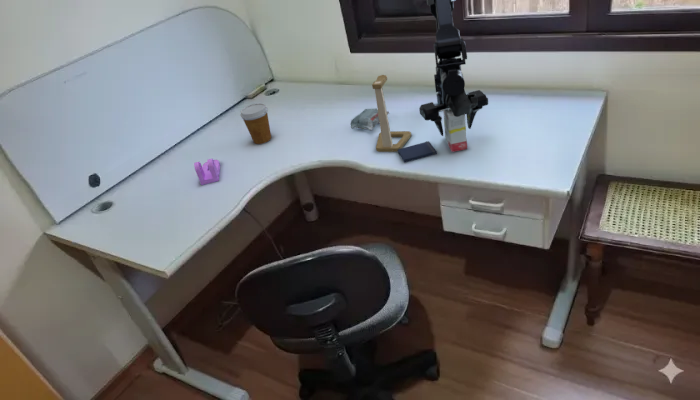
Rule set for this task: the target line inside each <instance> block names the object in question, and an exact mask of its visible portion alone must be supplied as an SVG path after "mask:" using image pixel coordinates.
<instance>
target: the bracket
mask: <svg viewBox="0 0 700 400" xmlns="http://www.w3.org/2000/svg"><path fill="white" fill-rule="evenodd" d="M193 168H194V171H195V173H196V176H197V177H198V180H199V183H200V185H201V186H203V185H208V184H212V183H215V182H220V172H221V163H220V161H219V160H218V159H214V158H207V160H206V162H204V163H203V164H202V163H201V162H200V161H195V162H194V163H193Z"/></svg>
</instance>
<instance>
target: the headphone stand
mask: <svg viewBox="0 0 700 400" xmlns="http://www.w3.org/2000/svg"><path fill="white" fill-rule="evenodd" d="M387 81H388V76H387V75H386V74H381V75H378V76H377V78H376V80H374V81H373V82H372V84H371V87H372V89H373V90H374V94H375V101H376V108H377V110H378V115H379V129H380V132H379V133H378V137H377V140H376V145H375V151H376V152H378V153H398V149H401V148H404V147H405V145H406V143H407V142H409V140H410V139H411V137H412V132H411V131H410V130H400V131H399V130H397V131H394V130H392V131H391V126H390V122H389V117H388V116H389V115H387V111H388V110H387V105H386V100H385V95H384V89H383V88H384V85H385V84H386V82H387ZM393 138H400V139H399V141H398V142H397V143H393Z"/></svg>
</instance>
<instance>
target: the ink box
mask: <svg viewBox="0 0 700 400" xmlns="http://www.w3.org/2000/svg"><path fill="white" fill-rule="evenodd" d="M442 112H443V113H442V114H443V126H444V139H445V142H446V144H447V146H448V148H449V149H450V151H451V153H454V152H455V153H456V152H459V151H465V150H468V140H467V139H468V138H467V121H466V114H465V115H461V116H459V117H456V116H454V115H453V112H452V110H451V109H448V110H445V111H442Z"/></svg>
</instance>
